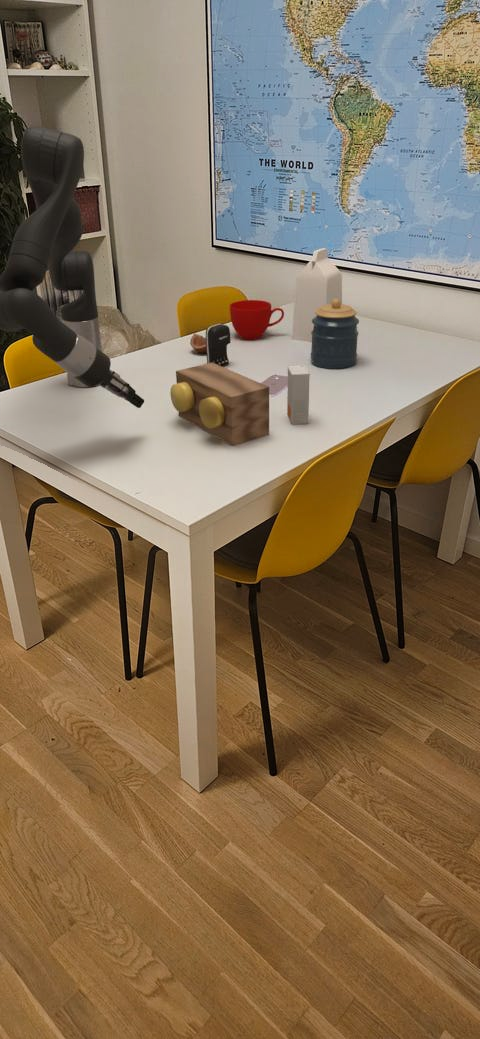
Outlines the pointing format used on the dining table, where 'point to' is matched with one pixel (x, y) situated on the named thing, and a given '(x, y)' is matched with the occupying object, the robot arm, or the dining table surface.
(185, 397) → the knob
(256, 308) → the ceramic cup
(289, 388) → the skincare box
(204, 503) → the dining table surface
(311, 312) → the milk
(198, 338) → the broken brown shell
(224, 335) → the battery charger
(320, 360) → the canister
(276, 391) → the mobile phone
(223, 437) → the block
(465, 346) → the dining table surface
